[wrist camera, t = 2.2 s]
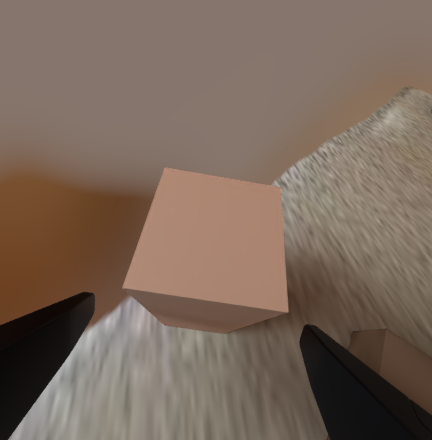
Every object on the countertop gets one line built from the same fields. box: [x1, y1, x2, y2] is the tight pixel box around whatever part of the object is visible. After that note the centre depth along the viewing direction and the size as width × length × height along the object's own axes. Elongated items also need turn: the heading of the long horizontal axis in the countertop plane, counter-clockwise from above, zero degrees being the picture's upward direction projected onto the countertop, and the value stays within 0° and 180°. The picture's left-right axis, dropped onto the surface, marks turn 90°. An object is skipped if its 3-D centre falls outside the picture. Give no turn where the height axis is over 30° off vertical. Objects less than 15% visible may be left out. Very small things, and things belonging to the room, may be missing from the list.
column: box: [123, 168, 289, 334], centre depth 13 cm, size 5×5×13 cm
